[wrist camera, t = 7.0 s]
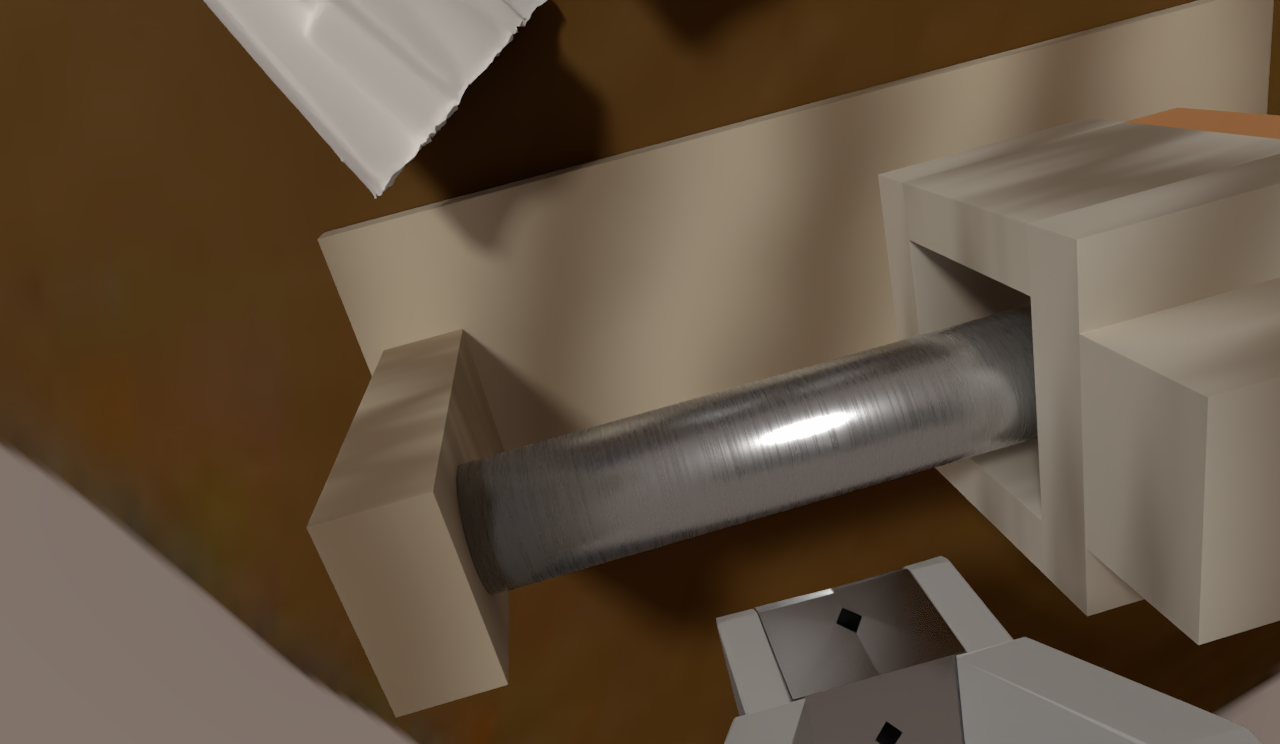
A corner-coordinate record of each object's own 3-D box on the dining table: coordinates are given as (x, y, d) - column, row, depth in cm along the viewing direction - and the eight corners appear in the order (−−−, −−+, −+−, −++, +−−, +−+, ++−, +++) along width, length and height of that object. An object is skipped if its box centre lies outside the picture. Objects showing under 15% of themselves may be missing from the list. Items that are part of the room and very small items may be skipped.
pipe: (1353, 188, 17) (1494, 210, 14) (1341, 306, 18) (1471, 345, 16) (459, 437, 16) (449, 505, 14) (499, 546, 17) (497, 629, 15)
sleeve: (1086, 118, 19) (1601, 173, 10) (1092, 391, 21) (1501, 627, 12) (878, 174, 18) (1212, 283, 10) (910, 443, 21) (1195, 722, 12)
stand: (1247, -13, 21) (1732, -57, 13) (1229, 343, 25) (1593, 489, 16) (324, 232, 20) (188, 360, 11) (455, 565, 24) (425, 843, 15)
